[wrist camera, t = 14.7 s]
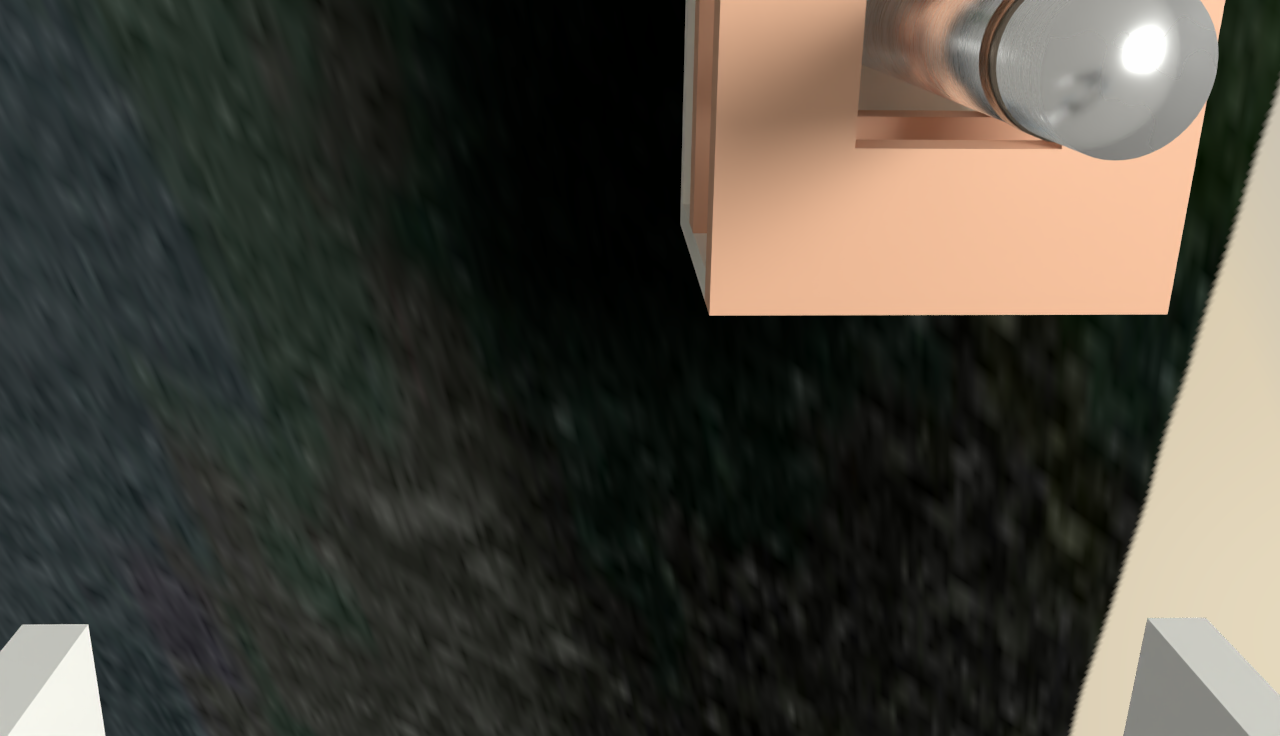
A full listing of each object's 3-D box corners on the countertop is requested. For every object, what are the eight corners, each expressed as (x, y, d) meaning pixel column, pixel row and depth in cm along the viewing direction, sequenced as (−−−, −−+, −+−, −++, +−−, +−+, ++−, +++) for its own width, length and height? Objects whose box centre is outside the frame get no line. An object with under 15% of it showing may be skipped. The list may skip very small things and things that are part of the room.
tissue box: (1031, 223, 46) (1167, 314, 35) (680, 223, 45) (709, 315, 34) (1092, -226, 40) (1277, -283, 29) (691, -234, 39) (730, -294, 29)
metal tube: (922, 67, 42) (1202, 163, 24) (823, 66, 42) (1025, 162, 23) (932, -40, 41) (1236, -27, 22) (830, -41, 41) (1051, -30, 22)
